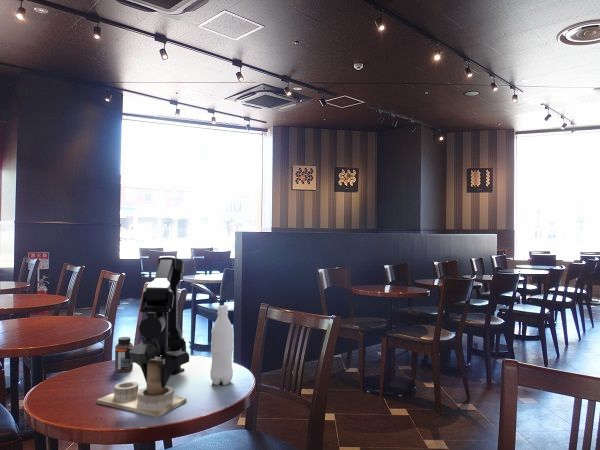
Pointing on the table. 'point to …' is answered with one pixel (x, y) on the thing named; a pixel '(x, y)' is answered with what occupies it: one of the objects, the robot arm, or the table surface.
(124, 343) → the supplement bottle
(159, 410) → the two-ring peg board
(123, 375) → the table surface
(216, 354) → the water bottle
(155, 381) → the walnut peg
